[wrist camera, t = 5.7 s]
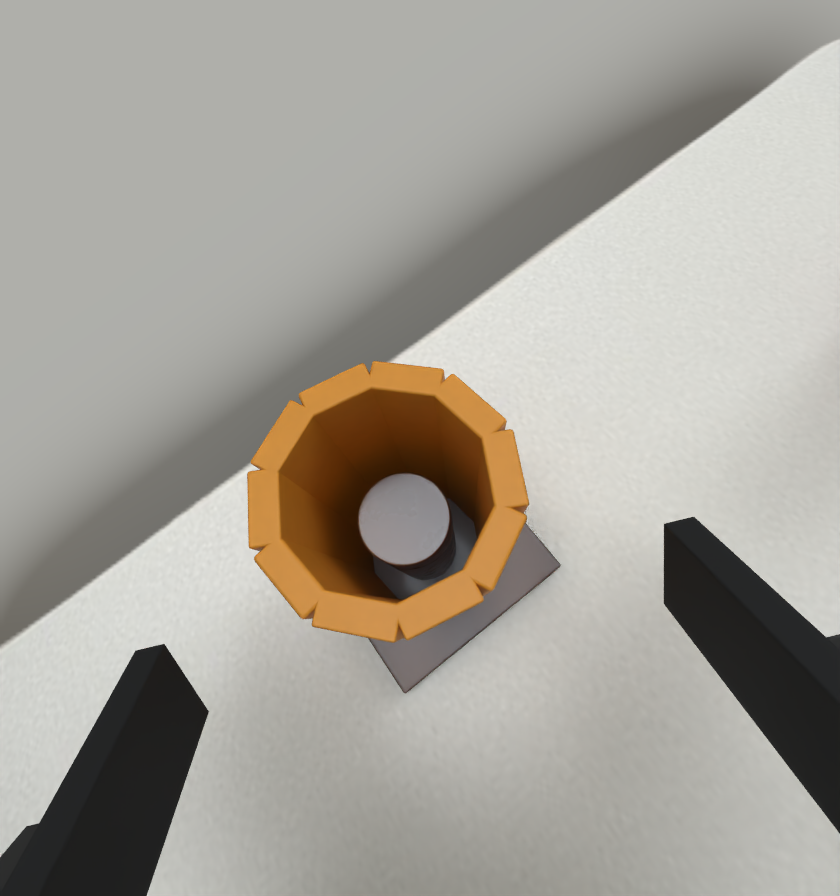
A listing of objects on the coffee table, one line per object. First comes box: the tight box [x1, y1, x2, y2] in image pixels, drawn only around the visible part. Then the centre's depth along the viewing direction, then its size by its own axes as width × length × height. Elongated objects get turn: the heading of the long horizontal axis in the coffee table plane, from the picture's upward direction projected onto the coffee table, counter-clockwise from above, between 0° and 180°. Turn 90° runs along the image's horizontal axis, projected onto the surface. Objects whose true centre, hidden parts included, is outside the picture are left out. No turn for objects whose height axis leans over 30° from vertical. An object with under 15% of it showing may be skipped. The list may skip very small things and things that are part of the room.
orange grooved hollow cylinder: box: [247, 361, 529, 643], centre depth 17 cm, size 7×7×12 cm
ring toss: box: [357, 472, 561, 693], centre depth 19 cm, size 9×9×9 cm
